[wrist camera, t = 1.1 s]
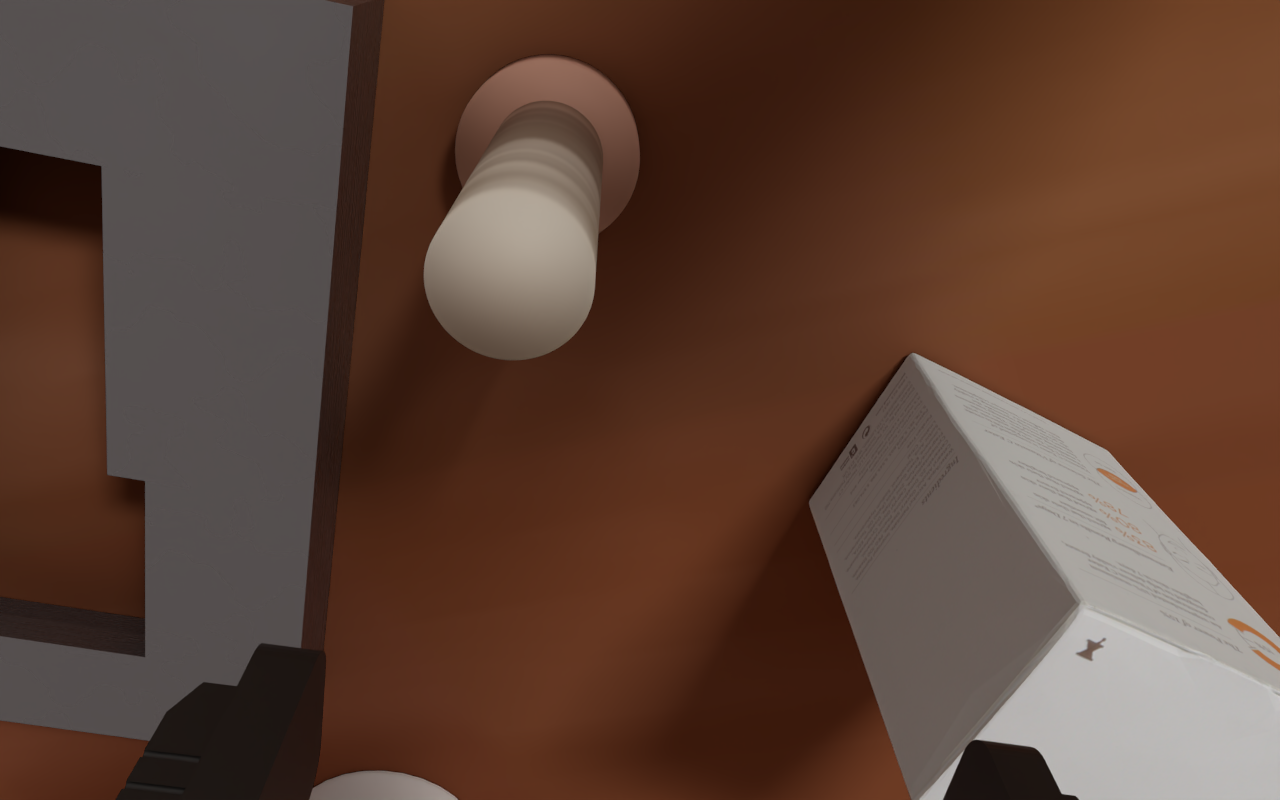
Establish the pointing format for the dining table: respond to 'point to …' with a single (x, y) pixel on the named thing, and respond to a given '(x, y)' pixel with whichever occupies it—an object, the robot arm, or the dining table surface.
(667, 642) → the dining table surface
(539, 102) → the stud
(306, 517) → the keyhole plate
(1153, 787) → the small box
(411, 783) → the mug
